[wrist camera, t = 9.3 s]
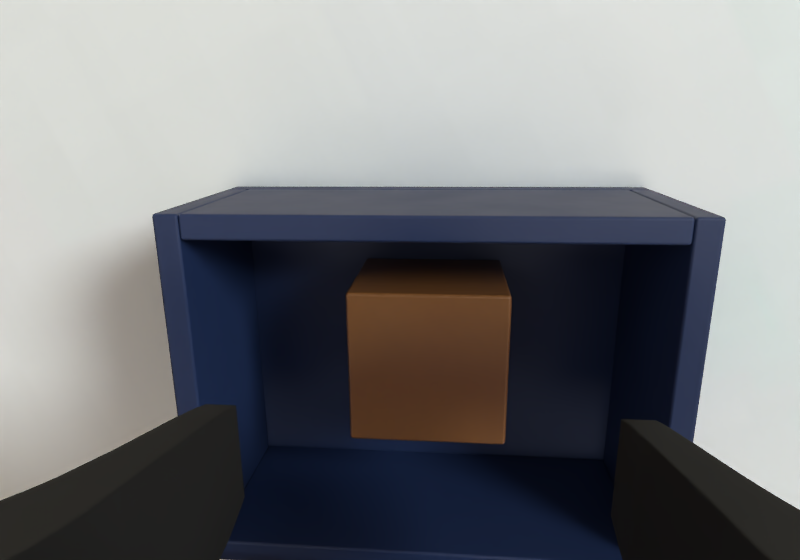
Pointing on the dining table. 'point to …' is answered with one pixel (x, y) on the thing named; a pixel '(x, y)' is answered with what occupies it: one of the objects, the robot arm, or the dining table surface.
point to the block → (429, 350)
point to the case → (528, 360)
